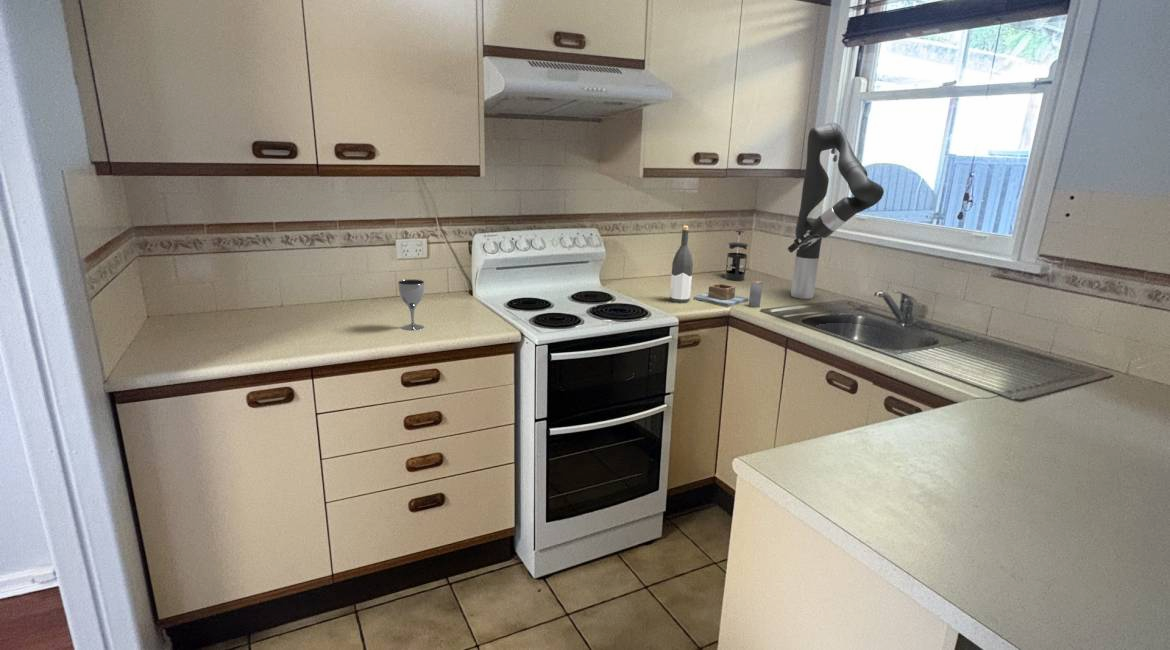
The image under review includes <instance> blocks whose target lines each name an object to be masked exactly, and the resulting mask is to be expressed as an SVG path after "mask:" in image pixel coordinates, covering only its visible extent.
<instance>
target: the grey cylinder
mask: <svg viewBox="0 0 1170 650" xmlns="http://www.w3.org/2000/svg"><path fill="white" fill-rule="evenodd" d="M763 285H764V282H763V281H761V280H759V279H758V280H755V279H754V280H751V282H750V290H749V297H748V298H749V299H748V307H750V306H751V307H750V308H754V307H758V308H760V307H761V302H762V301H761V299H762V293H763Z"/></svg>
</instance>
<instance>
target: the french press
mask: <svg viewBox="0 0 1170 650" xmlns="http://www.w3.org/2000/svg"><path fill="white" fill-rule="evenodd" d="M734 232H735V233H738V241H736V242H733V241H732V242H728V246H729V247H728V249H730V250H733V249H735V248H737V250H736V252H728V253H727V254H726V266H725V273H724V274H725V276H724V280H726V279H727V281H730V280H731V281H733V282H744V281H745V280H746V279H745V277H746V265H747V258H748V255H747V253H741V252H739V248H743V250H745V251H746V250H747V249H748V247H749V244H748V243H745V242H740V237H741V234H742V233H745V231H744V230H735V231H734ZM729 258H732V259H731V260H732V261H731V263H729V264H728V262H729ZM743 259H745V261H744V265H743V264H741V260H743ZM728 269H731V270H728ZM740 269H741V270H744V271H741V270H740ZM743 280H744V281H743Z"/></svg>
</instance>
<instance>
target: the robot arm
mask: <svg viewBox="0 0 1170 650" xmlns="http://www.w3.org/2000/svg"><path fill="white" fill-rule="evenodd" d="M833 149H836V151H838V153H839V154H838V155H839V156H838V162H837V169H838V171H839V174H841V176H842V178H843V179H844V180H845V182H846V183H847V184H848V188H849V191H850V192H851V194H852V195H853V197H849V196H845V197H843V198H842V199H840V200H839V201H837V202H836V203H835V204H833V205H832V207H830V208H828V209H826V210H825V211H824V212H823V213H822V214H820V215H818V217H817V218H811V217H809V215H810V213H811V212H812V211H813V209H815V208H816V207H817V206H818V205H819V204H820V203H821V202H822V201H824V199H825V197H826V196H827V195H828V194H827V193H828V187H829V182H830V180H829V175H828V173H827V172H826V170H825V168H824V167H823V165H822V163H821V160H820V159H821V153H822V152H824V151H828V150H833ZM806 153H807V154H806V165H805V171H804V178H803V184H802V191H801V198H800V199H801V201H800V207H799V211H798V212H799V213H798V217H797V221H796V226H795V239H794V240H793V243H792V244H790V246H788V247H787V250H788V252H789V253H793V252H794V251H796V252H795V259H794V269H793V274H792V275H793V276H792V282H791V283H792V284H791V290H790V296H791V297H793V298H795V299H801V300H802V299H803V300H812V299H814V294H815V287H816V282H817V281H816V280H817V274H818V266H819V260H820V252H821V245H822V240H823V239H826V238H829V236H831V235H832V234H833V233H834V232H836V231H837V230H838V229H840V228H841V227H843V225H845V223H846V222H848V221H849V220H850V219H852V218H853V217H854V216H855V215H857V214H858V213H861V212H864V211H865V210H867V209H869V208H871V207H874V206H875V205H877V204H878V203H879V202H880V201H881V199H882V198H883V196H884V188H883V186H882V185H880V184H879V183H877V182H876V181H873V180H872V179H870V178H869V177H868V172H867V169H866V168H865V167H864V166H863V164H862V163H861V162H860V160H859V159H858V157H857V156H856V155H855V153H854V151H853V149H852V147H851V145H850V143H849V141H848V138H847V137H846V135H845V133H844V130H843V129H842V127H841V126H840V124H838V123H836V122H830V123H824V124H821V125H816V126H813V127H812V128H810V130H809V133H808V137H807V150H806Z"/></svg>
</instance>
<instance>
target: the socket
mask: <svg viewBox="0 0 1170 650" xmlns="http://www.w3.org/2000/svg"><path fill="white" fill-rule="evenodd" d="M695 299H697V300H696V301H699V300H701V301H700V302H704V301H705V303H708V302H709V303H708V304H712V303H713V305H717V304H718V306H721V305H722V307H725V306H727V307H726V308H729V306H730V307H733V306H736V305H740V304H743V303H745V302H746V303H747V302H749V297H745V296H740V295H736V286H735V285H728V284H725V283H714V284H711V285H709V286H708V292H705V293H701V294H697V295H693V300H695ZM739 303H740V304H739ZM732 305H733V306H732Z"/></svg>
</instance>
